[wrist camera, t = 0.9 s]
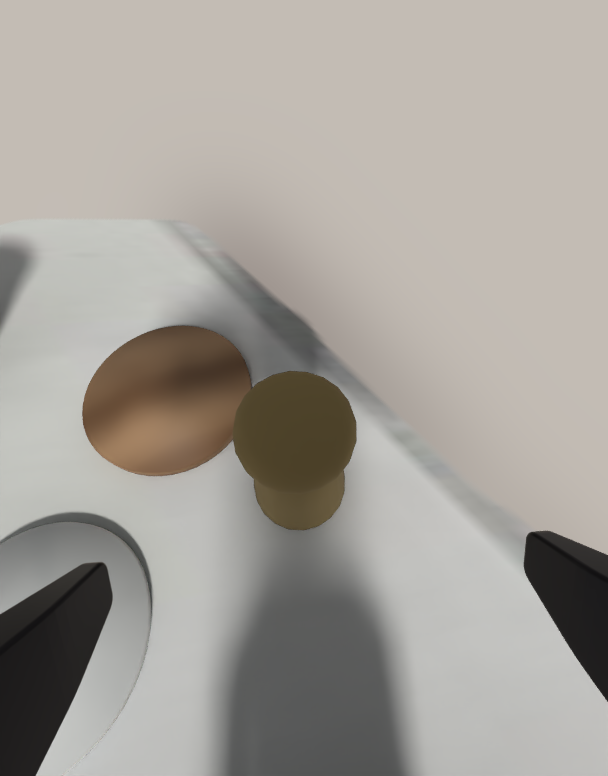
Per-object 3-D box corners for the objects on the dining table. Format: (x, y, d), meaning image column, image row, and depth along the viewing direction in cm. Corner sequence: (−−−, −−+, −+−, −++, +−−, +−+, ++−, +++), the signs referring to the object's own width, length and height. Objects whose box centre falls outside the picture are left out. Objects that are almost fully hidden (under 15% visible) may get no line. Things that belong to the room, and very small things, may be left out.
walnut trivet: (281, 417, 25) (280, 411, 24) (121, 512, 22) (113, 510, 21) (209, 312, 30) (206, 304, 29) (71, 377, 26) (63, 371, 26)
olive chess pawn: (235, 477, 23) (182, 408, 13) (303, 422, 25) (300, 324, 15) (294, 552, 20) (283, 535, 11) (363, 485, 22) (406, 419, 13)
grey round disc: (188, 676, 18) (182, 681, 17) (-67, 876, 15) (-90, 894, 14) (113, 486, 23) (105, 483, 22) (-92, 604, 20) (-110, 606, 19)
